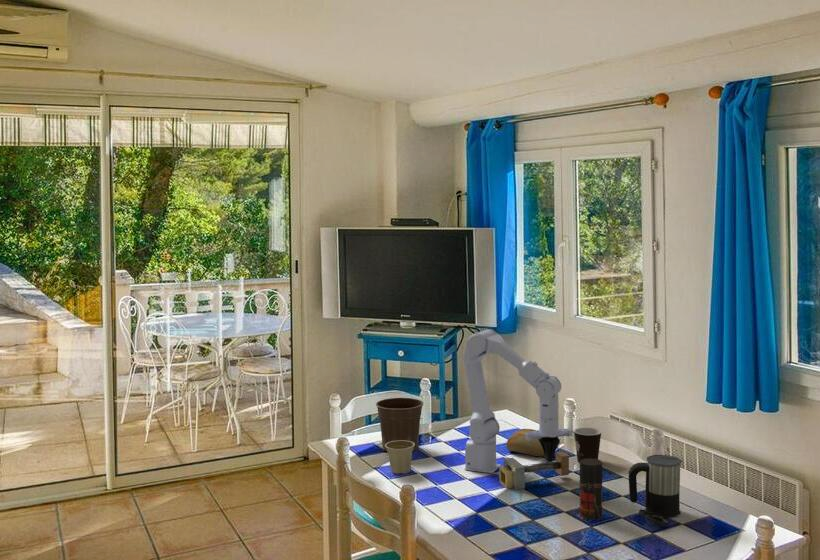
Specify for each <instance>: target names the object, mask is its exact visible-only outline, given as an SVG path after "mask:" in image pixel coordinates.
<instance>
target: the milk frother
mask: <svg viewBox="0 0 820 560" xmlns="http://www.w3.org/2000/svg"><path fill="white" fill-rule="evenodd" d="M682 463H683V461H682V459H681V458H679V457H677V456H673V455H668V454H653V455H652V454H651V455H649V456H647V457H646V462H636V463H634V464H633V465H632V466H630V468H629V471H628V492H629V500H630V502H631V503H634V504H636V503H637V502H638V485H637V475H638V473H640V472H645V499H644V501H645V508H644V509H642V508H641V509H639V510H638V514H639V515H640V516H642V517H643V518H644V519H646V520H647V521H649V522H651V523H653V524H654V525H656V526H657V527H660V526H661V527H662V526H664V527H665V526H668V524H669V521H668V520H667V518H668V519H671V518H677V517H679V516H680V515H681V508H680V507H681V506H680V494H681V492H680V491H681V490H680V487H681V486H680V485H681V484H680V483H681V465H682Z"/></svg>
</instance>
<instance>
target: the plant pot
mask: <svg viewBox="0 0 820 560" xmlns="http://www.w3.org/2000/svg"><path fill="white" fill-rule="evenodd" d="M375 406H376V408H377V415H378V417H379V424H380V433H381V434H380V435H381V443H382V444H381V445H382V450H383V449H384V450H383V451H384V452H386V451H387V449H386V447H385V444H386V443H388V442H391V441H398V440H405V441H411V442H413V443H414V444H415V446H414V448H413V452H415V450H416V449H418V448H419V438H420V437H419V436H420V425H421V423H420V422H421V415H422V410H423V406H424V401H423V400H421V399H417V398H414V397H413V398H411V397H390V398H384V399H380V400H378V401H377V402H376V403H375ZM416 451H417V450H416Z"/></svg>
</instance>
